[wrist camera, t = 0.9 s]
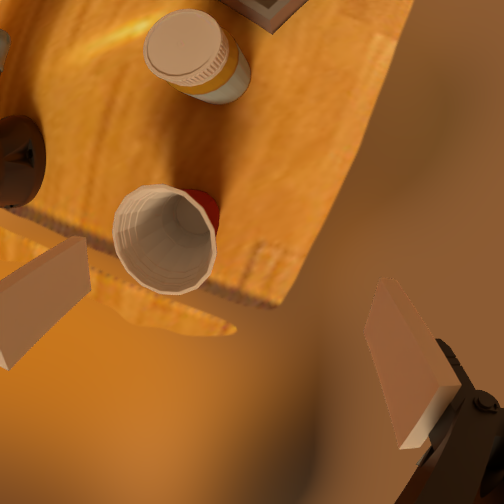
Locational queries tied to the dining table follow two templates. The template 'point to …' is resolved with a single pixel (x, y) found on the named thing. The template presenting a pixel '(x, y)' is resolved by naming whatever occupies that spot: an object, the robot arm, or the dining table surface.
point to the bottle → (197, 57)
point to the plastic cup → (167, 237)
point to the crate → (266, 11)
